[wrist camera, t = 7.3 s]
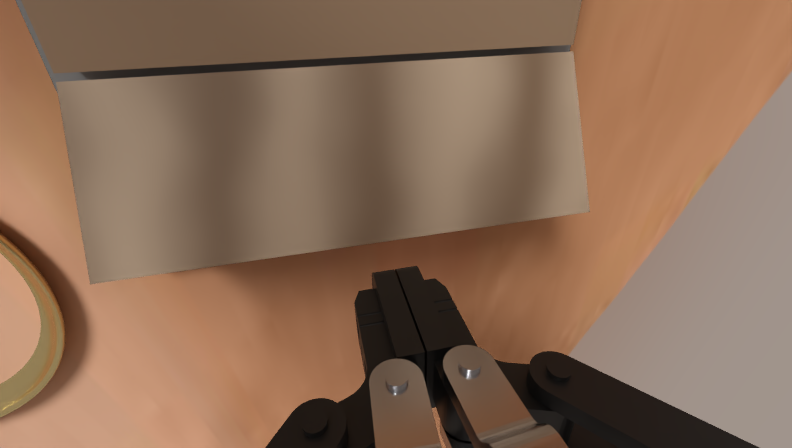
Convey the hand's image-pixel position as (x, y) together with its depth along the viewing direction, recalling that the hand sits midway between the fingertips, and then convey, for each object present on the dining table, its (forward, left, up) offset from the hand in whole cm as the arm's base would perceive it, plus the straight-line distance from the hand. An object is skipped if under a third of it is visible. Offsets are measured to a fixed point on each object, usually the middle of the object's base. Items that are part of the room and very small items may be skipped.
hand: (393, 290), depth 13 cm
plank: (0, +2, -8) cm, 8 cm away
